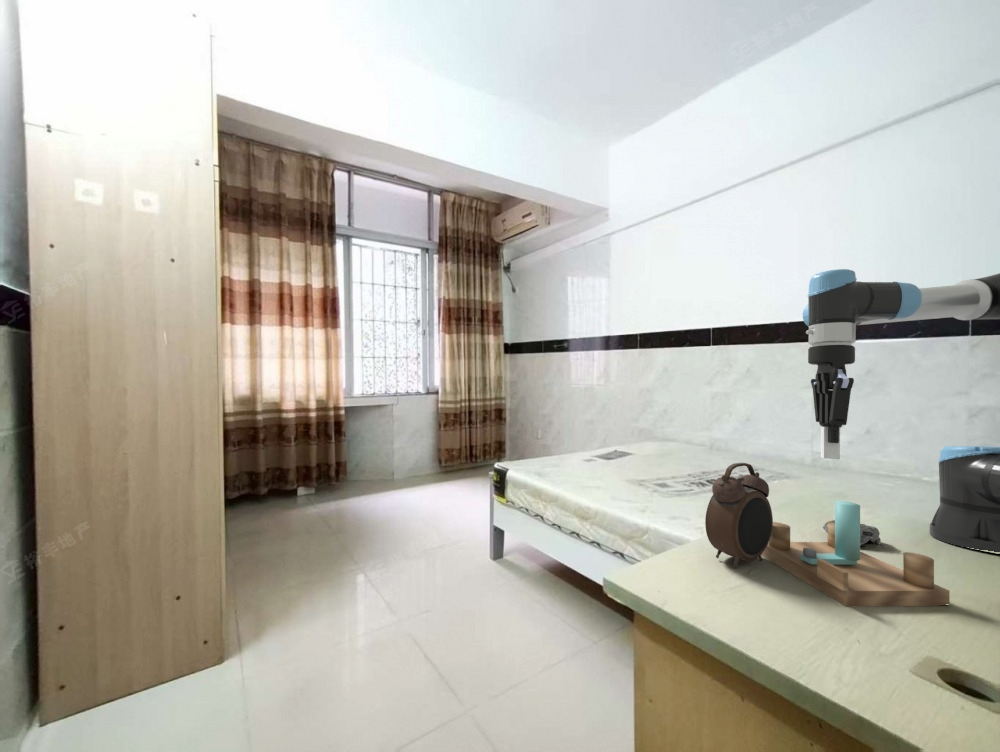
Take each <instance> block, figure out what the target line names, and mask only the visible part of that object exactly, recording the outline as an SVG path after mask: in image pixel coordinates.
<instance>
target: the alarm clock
mask: <svg viewBox="0 0 1000 752" xmlns="http://www.w3.org/2000/svg"><path fill="white" fill-rule="evenodd" d="M738 467H746V468H747V470H748V473H749V474H743V475H741V476H740V477H737V478H736V477H733V476H731V474H732V472H733V470H735V469H736V468H738ZM711 491H712V496H711V497H710V500H709V502H708V504H707V507H706V512H705V519H704V520H705V522H704V524H705V532H706V536H707V539H708V541H709V543H710V545H712V547H713V548H714V549H716V550H717V553H716V555H715V558H716V559H719V558H720V555H721V554H722V553H724V554H725V555H727V556H730V557H733V558H734V561H733V564H732V567H733V568H734V569H737V565H738V564H739V561H740V560H742V561H748V562H752V561H754V560H757V559H758V560H759V561H760V562H761V561H763V557H762V555H761V554H762V553H763V552H764V550H765V549H766V547H767V545H768V543H769V540H770V537H771V533H772V527H773V522H774V518H773V512H772V507H771V504H770V501H769V499H768V497H769V495H770V487H769V484H768V482H767V481H766V480H764V479H763V478H762V477H760V472H758V471H756V472H755V470H754V467H753V466H752V465H751V463H750V464H749V463H746V462H736V463H735V462H734V463H732V464H731V465H728V466H727V468H726V470H725V473H724V474H723V475H721V477H717V479H715V481H713V483H712V486H711Z"/></svg>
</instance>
